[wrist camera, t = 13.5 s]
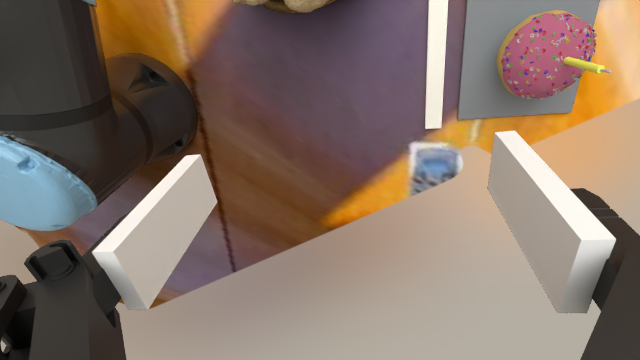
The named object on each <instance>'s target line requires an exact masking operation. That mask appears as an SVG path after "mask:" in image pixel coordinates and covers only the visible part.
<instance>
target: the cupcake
mask: <svg viewBox="0 0 640 360" xmlns="http://www.w3.org/2000/svg"><path fill="white" fill-rule="evenodd" d="M591 26H592V25H591V24H589V23H588V22H585V21H583V20H581V19H580V18H578V17H577V16H575V15H573V14H571V13H568V12H566V11H562V10H552V11H547V12H543V13H540V14H535V15H531V16H529V17H528V18H526V19H525V20H524V21H522V22H521V23H520V24H518V25H517V26H516V27H514V28H513V29H512V30H510V31H509V32H508V34H507V35H506V37H505V39H504V41H503V43H502V44H501V46H500V48H499V50H498V52H497V59H496V63H497V70H498V73H499V76H500V78H501V80H502V84H503V86H504V87H505V88H506V89H507V90H508V91H509V92H510V93H512V94H513V95H516V96H520V97H523V98H524V97H525V98H527V99H530V98H535V99H543V98H545V97H549V96H553V95H554V94H557V93H559V92H561V91H563V90H564V89H565V90H566V89H567V88H569V87H571V86H570V85H572V84H573V83H574V82H575V81H576V80H578V79H579V78H580V77H581V76H582V74H583V73H584V71H585V70H588V71H591V72H594V73H598V74H601V73H603V72H607V73H610V72H611V70H606V69H605V67H604V66H602V65H598V64H594V63H591V62H590V61H591V58H592V55H594V54H595V49H596V46H595V45H596V43H595V42H596V40H595V37H596V36H597V34H596V33H594V30H593V29H592V27H591ZM594 34H595V36H594ZM594 47H595V48H594Z"/></svg>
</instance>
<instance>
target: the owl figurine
mask: <svg viewBox="0 0 640 360" xmlns="http://www.w3.org/2000/svg"><path fill="white" fill-rule="evenodd" d="M334 1H335V0H233V2H234V3H244V4H249V5H251V6H254V5H258V4H261V5H263V6H264V7H266V8H267V9H270V10H273V11H277V12H282V13H301V12H304V13H306V12H308V13H309V12H311V11H313V10H315V9H319V8H321V7H323V6H326V5H328V4H330V3H332V2H334Z"/></svg>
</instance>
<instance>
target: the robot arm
mask: <svg viewBox="0 0 640 360" xmlns="http://www.w3.org/2000/svg"><path fill="white" fill-rule="evenodd" d="M95 7H97V3H96V1H95V0H0V219H1V220H3V221H5V222H7V223H10V224H13V225H15V226H19V227H22V228H26V229H31V230H37V231H53V230H59V229H62V228H65V227H67V226H69V225H71V224H72V223H74V222H75V221H77V220H78V219H79V218H81V217H82V216H84V215H85V214H86V213H90V212H91V211H93V210H94V209H95V208H96V207H97V206H98V205H99V204H100V203H101V202H102V201H104V200H105V199H106V198H107V197H108V196H109V195H111V194H112V193H113V192H114V191H115V190H116V189H117V188H119V187H120V186H121V185H122V184H123V183H124V182H125V181H127V180H128V179H129V178H130V177H131V176H132V175H134V174H135V173H136V172H137V171H138V170H139V169H140V168H142V167H143V166H144V165H147V164H150V163H154V162H157V161H161V160H165V159H168V158H171V157H173V156H175V155H176V154H178V153H179V152H181V151H182V150H183V149H184V148H185V147H186V146H187V145H188V144H189V143H190V142H191V140H192V139H193V137H194V135H195V132H196V128H197V111H196V106H195V103H194V100H193V98H192V96H191V94H190V92H189V90H188V88H187V87H186V85H185V84H184V83H183V81H182V80H181V79H180V78H179V77H178V76H177V74H176V73H174V72H173V71H172V70H171V69H170V68H169V67H167V66H166V65H164V64H163V63H161V62H160V61H158V60H156V59H154V58H151V57H149V56H146V55H142V54H136V53H126V54H121V55H117V56H114V57H111V58H108V59H106V60H105V58H104V53H103V47H102V42H101V36H100V31H99V25H98V20H97V14H96V9H95ZM488 180H489V181H488V187H487V188H488V190H489V192H490V194H491V196H492V198H493V199H494V201H495V203H496V205H497V207H498V208H499V210H500V212H501V214H502V215H503V217H504V219H505V221H506V223H507V224H508V226H509V228H510V230H511V232H512V233H513V235H514V237H515V239H516V240H517V242H518V244H519V246H520V248H521V249H522V251H523V253H524V255H525V256H526V258H527V260H528V262H529V263H530V265H531V267H532V269H533V271H534V273H535V274H536V276H537V278H538V279H539V282H540V283H541V285H542V287H543V289H544V290H545V292H546V294H547V296H548V298H549V299H550V301H551V303H552V305H553V307H554V308H555V310H556V312H557V313H587V311H588V309H589V306H590V304H591V301H592V299H593V300H594V301H595V303H596V304H597V306H598V307H599V308H600V310H601V313H600V316H599V318H598V320H597V323H596V325H595V327H594V330H593V332H592V334H591V336H590V339H589V341H588V343H587V346H586V348H585V351H584V353H583V355H582V357H581V360H640V236H639V235H638V234H637V233H636V232H635V231H634V230H633V229H632V228H631V227H630V226H629V225H628V224H627V223H626V222H625V221H624V220H623V219H622V218H619V217H618V214H617V213H616V212H615V211H613V210H612V209H610V207H609V206H608V205H607V204H606V203H605V202H604V201H603V200H602V199H601V198H600V197H599V196H597V195H595V194H593V193H591V192H589V191H587V190H586V189H583V188H579V189H569V188H568V187H567V186H566V185H565V184H564V183H563V182H562V181H561V179H560V178H559V177H558V176H557V175H556V174H555V173H554V172H553V171H552V170H551V169H550V168H549V167H548V166H547V165H546V163H545V162H544V161H543V160H542V159H541V158H540V157H539V156H538V155H537V154H536V153H535V152H534V151H533V150H532V148H531V147H530V146H529V145H528V144H527V143H526V142H525V141H524V140H523V139H522V138H521V137H520V136H519V135H518V133H517V132H516V131H505V132H495V135H494V143H493V150H492V157H491V165H490V173H489V179H488ZM216 203H217V200H216V197H215V194H214V191H213V188H212V185H211V183H210V180H209V177H208V174H207V171H206V168H205V166H204V163H203V160H202V157H201V154H200V155H187V156H185V157H184V158H183V159H182V160H181V161H180V162H179V163H178V164H177V165H176V166H175V167H174V168H173V169H172V170H171V171H170V172H169V173H168V174H167V175H166V177H165V178H164V179H163V180H162V181H161V182H160V183H159V184H158V185H157V186H156V187H155V188H154V189H153V190H152V191H151V192H150V193H149V194H148V195H147V196H146V197H145V198H144V199H143V200H142V201H141V202H140V203H139V204H138V205H137V206H136V207H135V208H134V209H133V210H132V211H131V212H129V213H128V214H126V215H125V216H123V217H122V218H120V219H119V220H118V221H117V222H116V223H115V224H114V225H113V226H112V227H111V229H109V230H108V231H107V232H106V233H105V234H104V236H102V237H101V238H100V239H99V240H98V241H97V242H96V243H95V244H94V245H93V246H92V247H91V248H90V249H89V250H88V251H87V252H86V253H85V254H84V255H83V256H82V257H81V256H80V254H79V253H78V251H77V250H76V248H75V247H74V245H73V244H72V242H71V241H69V240H59V241H55V242H52V243H49V244H47V245H45V246H43V247H41V248H39V249H38V250H36V251H35V252H33V253H32V254H31V255H30V256H29V257H28V258H27V259H26V261H25V263H24V265H25V266H26V267H27V268H28V270H29V271H30V272H31V273H32V275H33V276H34V277H35V278H36V280H37V281H36V282H32V283H28V284H24V285H23V284H22V283H21V282H20V280H19V279H18V278H17V277H16V276H15V275H7V276H2V277H0V342H1V340H2V341H3V342H4V343H5V344H6V345H7V346H6V348H5V350H4V352H2V350H1V345H0V360H126V354H125V348H124V342H123V335H122V329H121V323H120V316H119V313H118V311H117V310H116V308H115V306H116V304H117V303H118V302H119V301H120V299H122V300H123V302H124V304H125V305H126V307H127V308H128V309H129V310H148V309H149V307H150V306H151V304H152V303H153V301H154V299H155V298H156V296H157V295H158V293H159V292H160V290H161V289H162V287H163V285H164V284H165V282H166V281H167V279H168V278H169V276H170V275H171V273H172V271H173V270H174V268H175V267H176V265H177V264H178V262H179V261H180V259H181V257H182V256H183V254H184V253H185V251H186V250H187V248H188V247H189V245H190V243H191V242H192V240H193V239H194V237H195V236H196V234H197V233H198V231H199V229H200V228H201V226H202V225H203V223H204V222H205V220H206V219H207V217H208V215H209V214H210V212H211V211H212V209H213V208H214V206H215V205H216Z"/></svg>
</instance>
